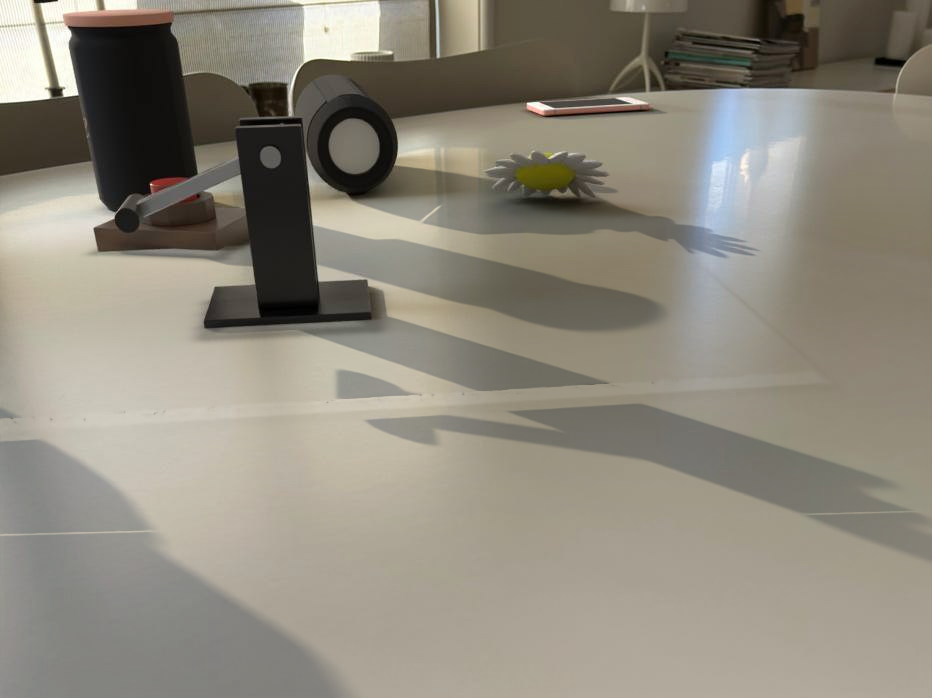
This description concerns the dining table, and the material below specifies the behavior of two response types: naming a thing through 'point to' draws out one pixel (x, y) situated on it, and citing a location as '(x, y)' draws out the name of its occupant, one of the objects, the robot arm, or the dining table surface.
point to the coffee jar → (131, 99)
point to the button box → (179, 228)
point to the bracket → (281, 238)
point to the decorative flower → (547, 173)
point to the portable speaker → (346, 134)
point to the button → (167, 182)
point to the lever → (172, 195)
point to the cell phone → (587, 106)
